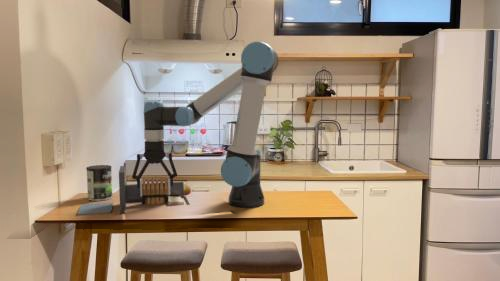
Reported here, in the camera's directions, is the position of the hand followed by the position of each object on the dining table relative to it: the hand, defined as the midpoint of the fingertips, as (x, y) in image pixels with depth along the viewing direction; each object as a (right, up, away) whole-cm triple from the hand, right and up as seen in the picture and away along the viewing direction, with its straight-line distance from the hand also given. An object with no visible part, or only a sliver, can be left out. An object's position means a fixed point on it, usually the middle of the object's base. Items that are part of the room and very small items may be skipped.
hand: (155, 194), depth 157 cm
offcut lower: (+7, -4, +3) cm, 9 cm away
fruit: (+6, -4, +18) cm, 20 cm away
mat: (-23, -5, -4) cm, 24 cm away
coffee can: (-28, -4, +15) cm, 32 cm away
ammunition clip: (0, -5, +1) cm, 5 cm away
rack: (0, -5, 0) cm, 5 cm away
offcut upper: (+7, -3, +3) cm, 8 cm away
